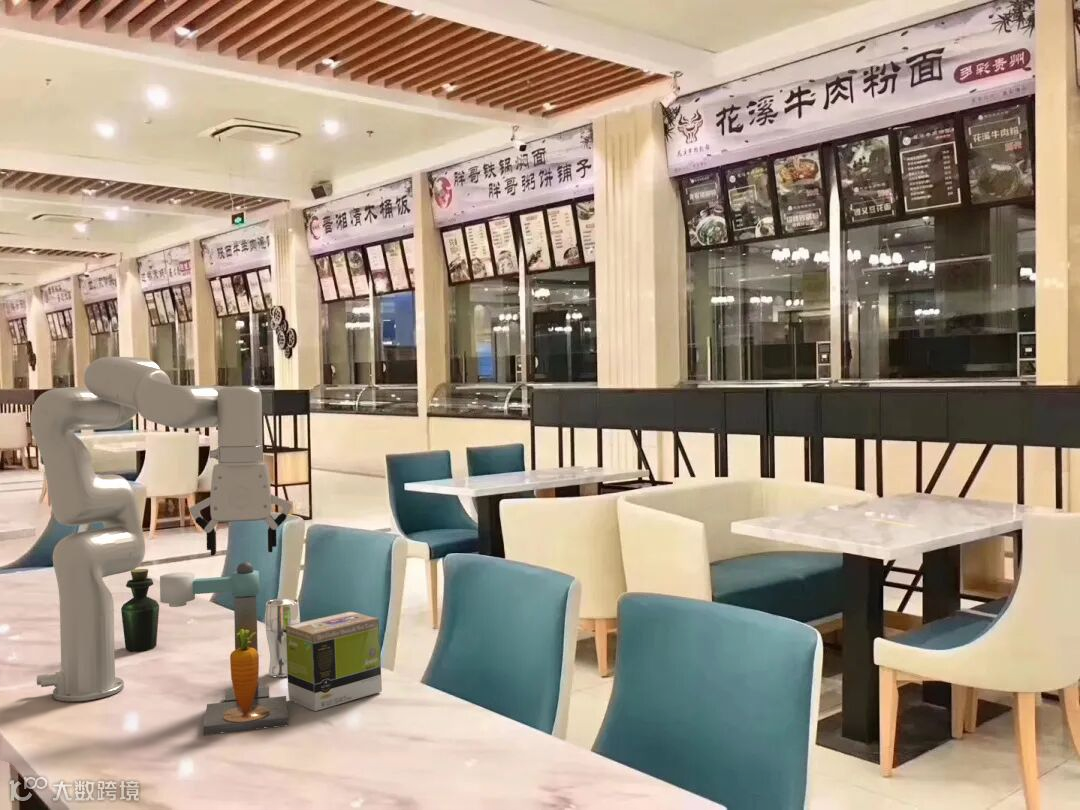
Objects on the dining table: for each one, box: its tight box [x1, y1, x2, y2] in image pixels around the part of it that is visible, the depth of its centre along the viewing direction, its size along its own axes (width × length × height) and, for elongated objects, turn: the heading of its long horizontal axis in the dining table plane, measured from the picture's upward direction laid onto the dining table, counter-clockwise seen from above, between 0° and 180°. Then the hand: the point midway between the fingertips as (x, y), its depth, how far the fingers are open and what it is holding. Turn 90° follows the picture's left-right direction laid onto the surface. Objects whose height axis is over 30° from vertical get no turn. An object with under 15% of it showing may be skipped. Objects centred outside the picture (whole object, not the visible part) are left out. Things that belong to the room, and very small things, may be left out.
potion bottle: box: [120, 568, 160, 653], centre depth 215 cm, size 8×8×18 cm
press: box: [202, 594, 289, 735], centre depth 170 cm, size 14×19×20 cm
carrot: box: [229, 629, 260, 713], centre depth 165 cm, size 5×5×15 cm
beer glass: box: [264, 597, 301, 678], centre depth 194 cm, size 7×7×15 cm
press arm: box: [159, 561, 260, 608], centre depth 174 cm, size 18×6×7 cm, turn 107°
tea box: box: [286, 611, 383, 712], centre depth 178 cm, size 15×10×15 cm, turn 134°
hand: (242, 552), depth 165 cm, fingers open, 9 cm apart
